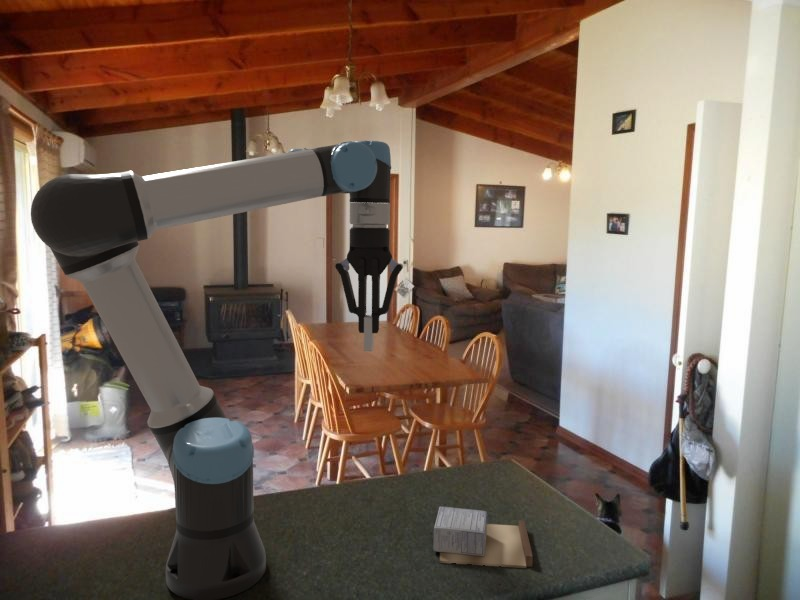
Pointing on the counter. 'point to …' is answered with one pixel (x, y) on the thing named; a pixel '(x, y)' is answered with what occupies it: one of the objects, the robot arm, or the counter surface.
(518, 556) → the light wooden board
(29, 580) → the counter surface
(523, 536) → the stop rail
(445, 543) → the medicine box
